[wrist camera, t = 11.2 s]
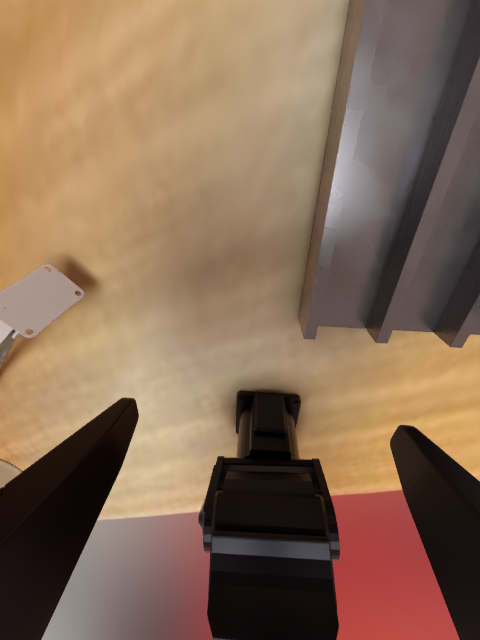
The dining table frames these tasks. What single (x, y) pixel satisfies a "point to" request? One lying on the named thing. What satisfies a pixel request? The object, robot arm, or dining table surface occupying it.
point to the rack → (401, 176)
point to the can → (7, 472)
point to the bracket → (34, 305)
